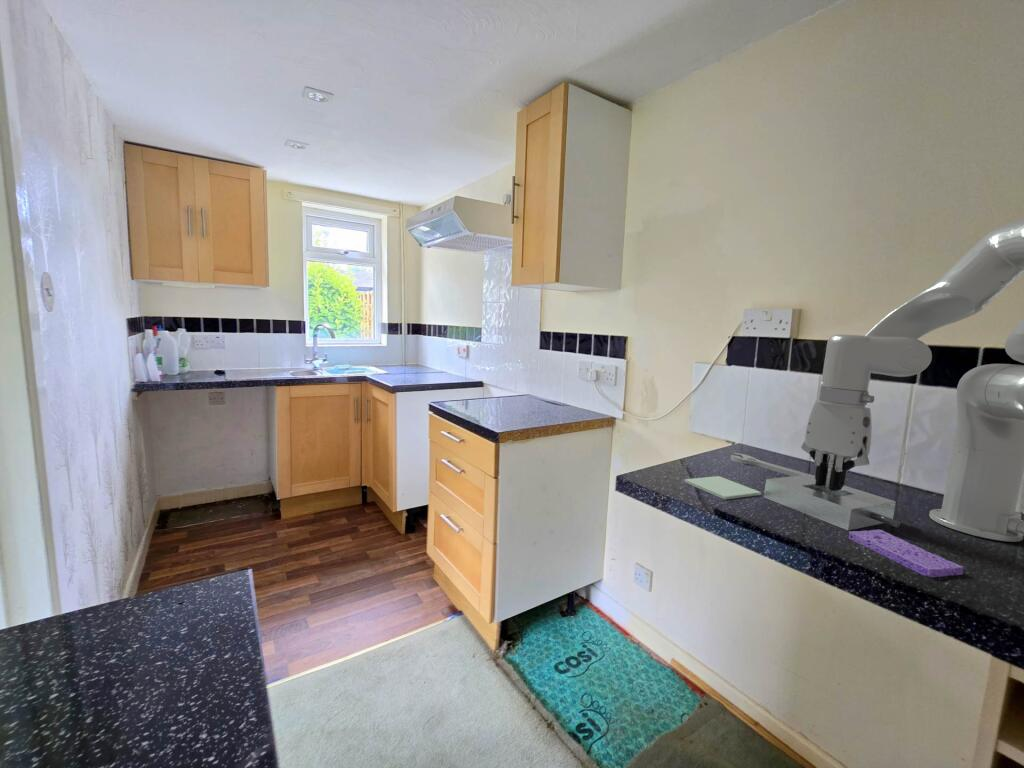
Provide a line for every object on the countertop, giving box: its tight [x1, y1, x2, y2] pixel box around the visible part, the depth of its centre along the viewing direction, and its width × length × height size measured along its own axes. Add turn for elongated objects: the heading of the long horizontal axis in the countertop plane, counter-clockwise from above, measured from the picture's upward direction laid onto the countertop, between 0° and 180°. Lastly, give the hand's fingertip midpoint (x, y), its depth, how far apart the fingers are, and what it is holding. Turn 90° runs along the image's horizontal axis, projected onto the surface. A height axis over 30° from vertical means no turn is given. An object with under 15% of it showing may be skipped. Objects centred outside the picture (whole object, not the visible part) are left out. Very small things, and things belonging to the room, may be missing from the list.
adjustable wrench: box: [730, 452, 815, 477], centre depth 117 cm, size 25×6×2 cm, turn 29°
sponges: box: [848, 529, 964, 578], centre depth 72 cm, size 7×13×2 cm, turn 12°
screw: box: [823, 454, 837, 496], centre depth 90 cm, size 13×5×5 cm
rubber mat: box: [683, 475, 762, 500], centre depth 99 cm, size 11×11×1 cm
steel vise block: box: [763, 474, 901, 531], centre depth 89 cm, size 20×14×4 cm
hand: (828, 486), depth 90 cm, fingers closed on screw, 2 cm apart
